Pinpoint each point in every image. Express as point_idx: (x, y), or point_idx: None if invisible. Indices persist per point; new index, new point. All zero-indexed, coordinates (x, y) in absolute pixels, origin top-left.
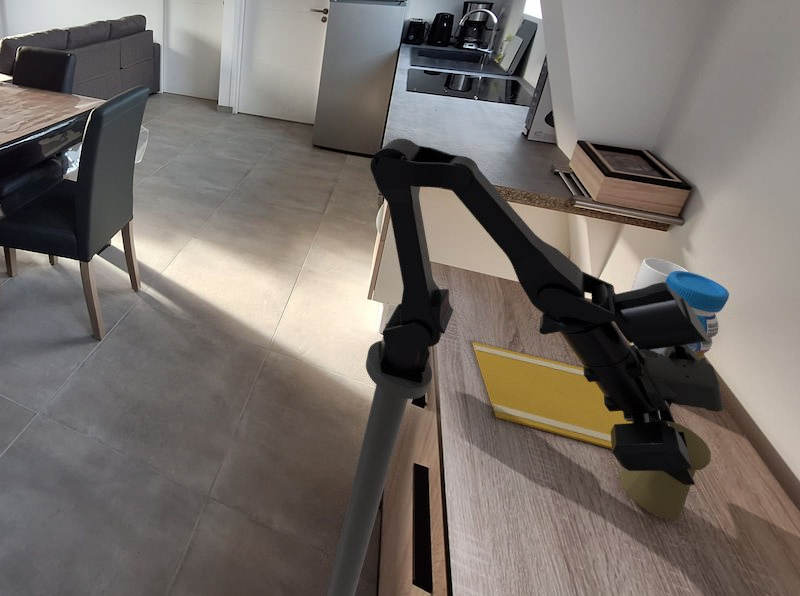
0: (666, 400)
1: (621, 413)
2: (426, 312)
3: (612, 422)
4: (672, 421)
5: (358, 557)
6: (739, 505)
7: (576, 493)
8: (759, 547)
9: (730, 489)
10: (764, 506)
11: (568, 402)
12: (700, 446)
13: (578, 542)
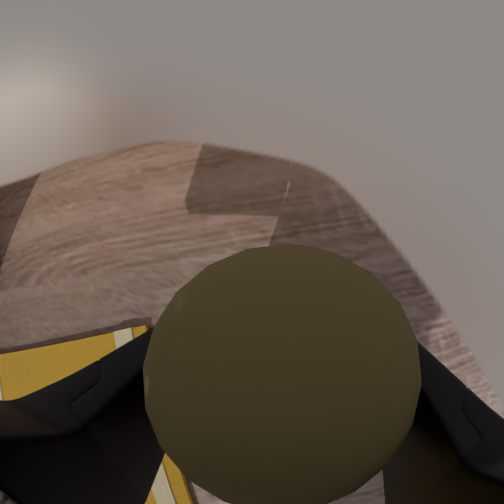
0: (21, 471)
1: (53, 356)
2: None
3: None
4: (127, 391)
5: None
6: (183, 196)
7: (361, 496)
8: (270, 188)
9: (151, 201)
10: (164, 163)
11: None
12: (334, 304)
13: None
